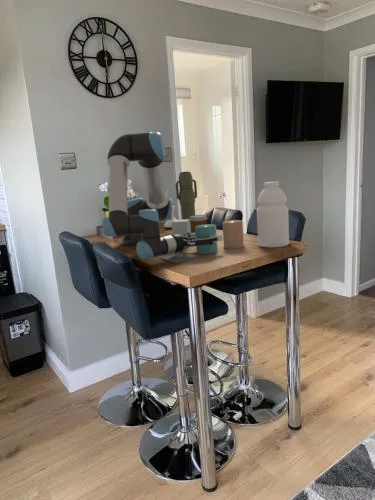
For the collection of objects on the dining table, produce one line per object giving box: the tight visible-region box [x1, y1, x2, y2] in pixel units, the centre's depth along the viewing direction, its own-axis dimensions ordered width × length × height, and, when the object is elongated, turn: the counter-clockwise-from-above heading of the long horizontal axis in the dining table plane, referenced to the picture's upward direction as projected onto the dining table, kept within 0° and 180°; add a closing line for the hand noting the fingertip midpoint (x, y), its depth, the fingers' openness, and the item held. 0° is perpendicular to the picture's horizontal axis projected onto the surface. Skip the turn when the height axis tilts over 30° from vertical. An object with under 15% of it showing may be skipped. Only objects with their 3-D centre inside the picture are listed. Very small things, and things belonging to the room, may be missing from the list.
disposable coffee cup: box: [190, 214, 208, 233], centre depth 205 cm, size 10×10×12 cm
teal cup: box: [195, 223, 218, 255], centre depth 172 cm, size 9×9×11 cm
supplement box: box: [171, 219, 191, 248], centre depth 188 cm, size 7×7×13 cm
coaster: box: [160, 251, 201, 264], centre depth 164 cm, size 12×12×1 cm
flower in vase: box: [163, 188, 178, 229], centre depth 250 cm, size 13×11×25 cm
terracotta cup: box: [222, 219, 245, 249], centre depth 178 cm, size 9×9×11 cm
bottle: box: [256, 181, 290, 248], centre depth 173 cm, size 14×14×28 cm
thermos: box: [175, 171, 198, 234], centre depth 220 cm, size 9×12×35 cm
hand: (211, 235), depth 173 cm, fingers open, 13 cm apart
